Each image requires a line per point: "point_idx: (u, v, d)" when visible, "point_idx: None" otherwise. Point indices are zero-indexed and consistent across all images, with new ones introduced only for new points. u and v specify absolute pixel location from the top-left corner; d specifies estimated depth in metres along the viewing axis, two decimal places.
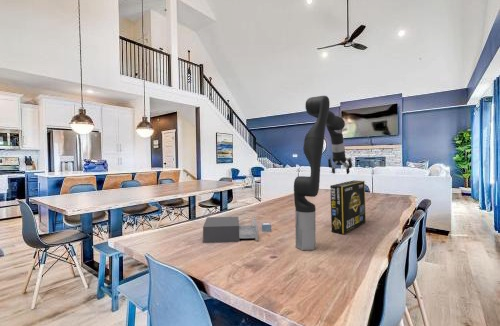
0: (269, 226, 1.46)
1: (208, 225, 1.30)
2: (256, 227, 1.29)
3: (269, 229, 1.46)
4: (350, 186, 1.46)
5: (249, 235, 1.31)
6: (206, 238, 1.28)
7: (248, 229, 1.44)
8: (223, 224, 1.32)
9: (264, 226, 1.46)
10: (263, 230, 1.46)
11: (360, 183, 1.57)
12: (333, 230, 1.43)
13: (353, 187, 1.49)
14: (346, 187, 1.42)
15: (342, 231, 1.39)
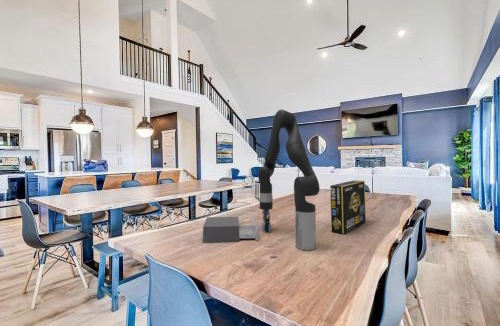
0: (269, 226, 1.46)
1: (208, 225, 1.30)
2: (256, 227, 1.29)
3: (269, 229, 1.46)
4: (350, 186, 1.46)
5: (249, 235, 1.31)
6: (206, 238, 1.28)
7: (248, 229, 1.44)
8: (223, 224, 1.32)
9: (264, 226, 1.46)
10: (263, 230, 1.46)
11: (360, 183, 1.57)
12: (333, 230, 1.43)
13: (353, 187, 1.49)
14: (346, 187, 1.42)
15: (342, 231, 1.39)
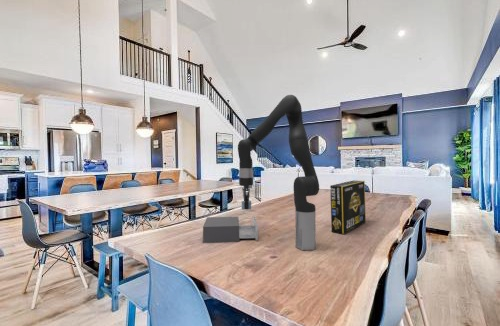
0: (249, 203, 1.37)
1: (208, 225, 1.30)
2: (256, 227, 1.29)
3: (249, 207, 1.37)
4: (350, 186, 1.46)
5: (249, 235, 1.31)
6: (206, 238, 1.28)
7: (248, 229, 1.44)
8: (223, 224, 1.32)
9: None
10: (243, 208, 1.37)
11: (360, 183, 1.57)
12: (333, 230, 1.43)
13: (353, 187, 1.49)
14: (346, 187, 1.42)
15: (342, 231, 1.39)
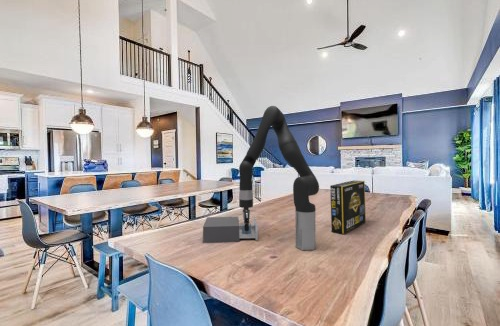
0: (249, 227, 1.37)
1: (208, 225, 1.30)
2: (256, 227, 1.29)
3: (249, 230, 1.37)
4: (350, 186, 1.46)
5: (249, 235, 1.31)
6: (206, 238, 1.28)
7: None
8: (223, 224, 1.32)
9: (244, 227, 1.37)
10: (243, 231, 1.37)
11: (360, 183, 1.57)
12: (333, 230, 1.43)
13: (353, 187, 1.49)
14: (346, 187, 1.42)
15: (342, 231, 1.39)
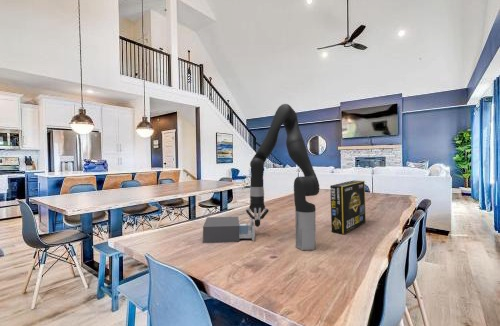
0: (246, 227, 1.37)
1: (208, 225, 1.30)
2: (253, 227, 1.29)
3: (246, 230, 1.37)
4: (350, 186, 1.46)
5: (246, 235, 1.31)
6: (206, 238, 1.28)
7: None
8: (223, 224, 1.32)
9: (241, 227, 1.37)
10: (240, 231, 1.37)
11: (360, 183, 1.57)
12: (333, 230, 1.43)
13: (353, 187, 1.49)
14: (346, 187, 1.42)
15: (342, 231, 1.39)
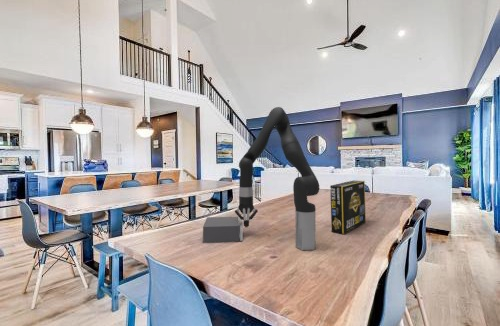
0: None
1: (208, 225, 1.30)
2: (241, 227, 1.29)
3: None
4: (350, 186, 1.46)
5: None
6: (206, 238, 1.28)
7: None
8: (223, 224, 1.32)
9: None
10: None
11: (360, 183, 1.57)
12: (333, 230, 1.43)
13: (353, 187, 1.49)
14: (346, 187, 1.42)
15: (342, 231, 1.39)
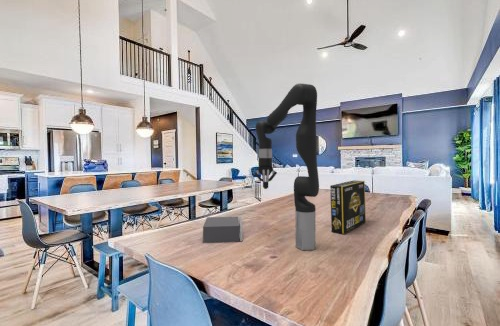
0: None
1: (208, 225, 1.30)
2: (241, 227, 1.29)
3: None
4: (350, 186, 1.46)
5: None
6: (206, 238, 1.28)
7: None
8: (223, 224, 1.32)
9: None
10: None
11: (360, 183, 1.57)
12: (333, 230, 1.43)
13: (353, 187, 1.49)
14: (346, 187, 1.42)
15: (342, 231, 1.39)
